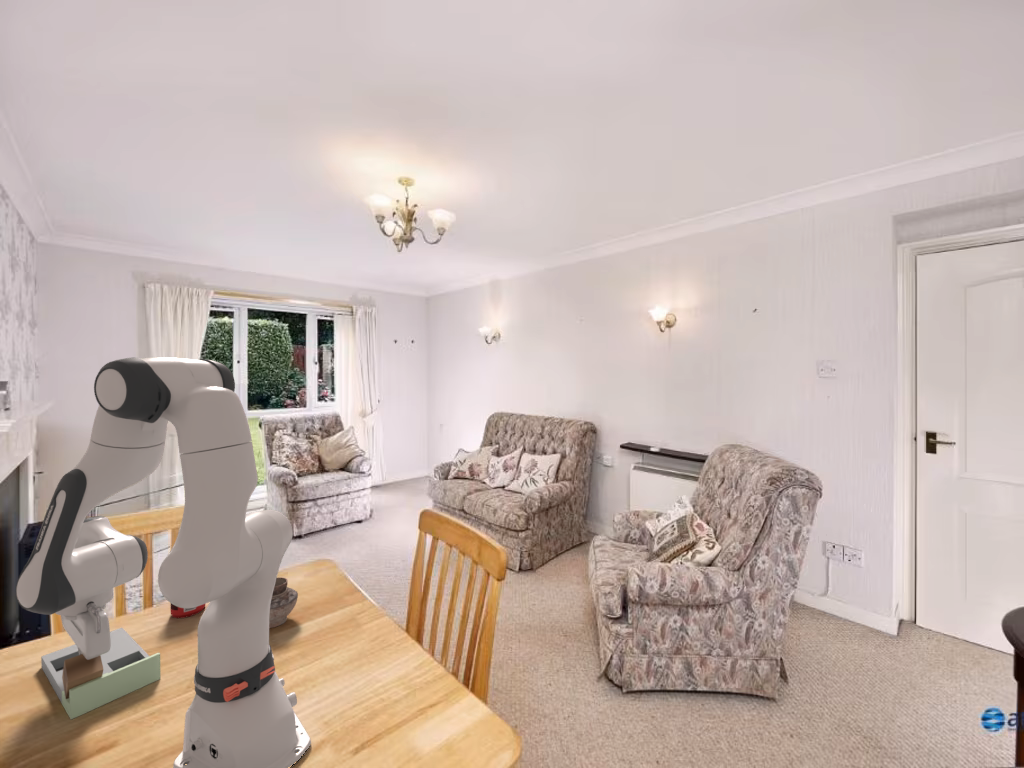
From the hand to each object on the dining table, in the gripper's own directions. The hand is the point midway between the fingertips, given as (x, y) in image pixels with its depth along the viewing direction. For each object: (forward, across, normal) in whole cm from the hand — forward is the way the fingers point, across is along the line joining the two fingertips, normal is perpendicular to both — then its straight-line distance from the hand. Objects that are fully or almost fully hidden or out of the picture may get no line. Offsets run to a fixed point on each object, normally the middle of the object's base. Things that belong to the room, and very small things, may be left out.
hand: (86, 662), depth 92 cm
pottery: (+7, +2, -33) cm, 34 cm away
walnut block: (+2, -3, +1) cm, 4 cm away
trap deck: (+6, +5, -3) cm, 9 cm away
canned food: (+6, +20, -24) cm, 32 cm away
